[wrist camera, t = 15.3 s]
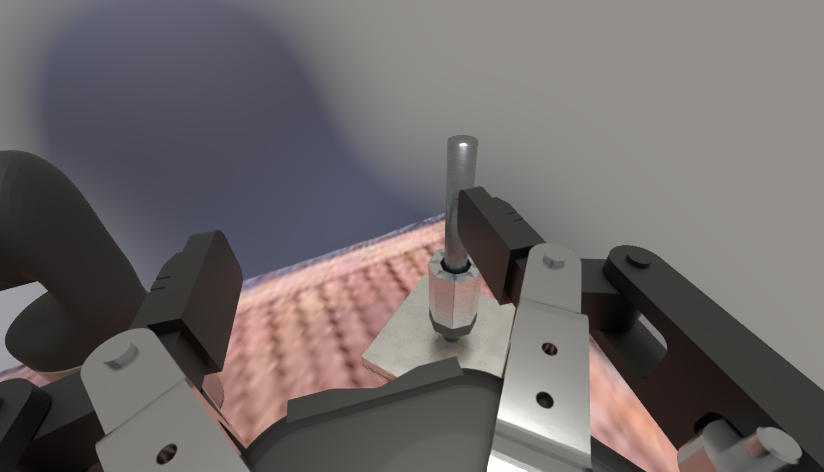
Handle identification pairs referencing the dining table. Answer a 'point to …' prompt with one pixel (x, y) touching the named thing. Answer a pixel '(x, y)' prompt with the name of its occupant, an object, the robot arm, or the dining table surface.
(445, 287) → the metal sleeve
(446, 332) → the black hex nut
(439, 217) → the dining table surface
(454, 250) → the pipe stand
